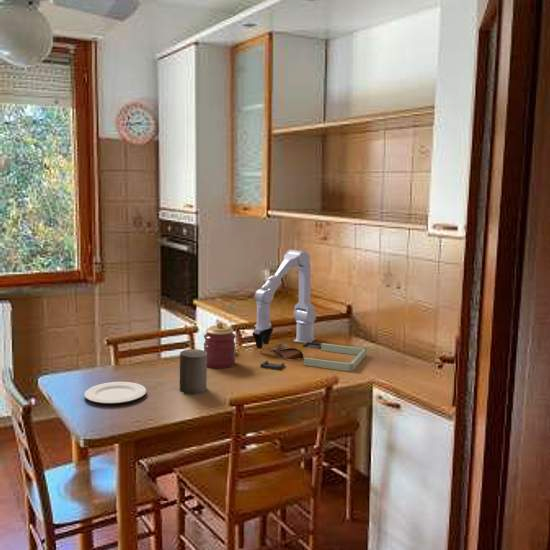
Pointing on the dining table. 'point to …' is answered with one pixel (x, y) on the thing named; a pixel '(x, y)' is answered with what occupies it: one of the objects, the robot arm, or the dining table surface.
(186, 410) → the dining table surface
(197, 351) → the pillar candle
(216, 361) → the canister
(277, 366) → the front trap pocket
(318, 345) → the rear trap pocket
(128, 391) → the plate
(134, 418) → the dining table surface
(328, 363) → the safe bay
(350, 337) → the dining table surface
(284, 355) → the sunglasses case
